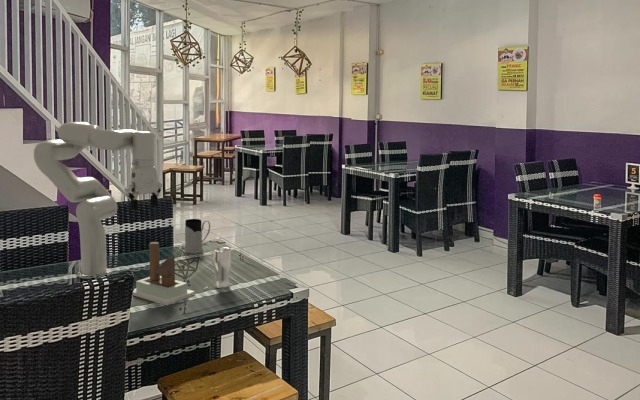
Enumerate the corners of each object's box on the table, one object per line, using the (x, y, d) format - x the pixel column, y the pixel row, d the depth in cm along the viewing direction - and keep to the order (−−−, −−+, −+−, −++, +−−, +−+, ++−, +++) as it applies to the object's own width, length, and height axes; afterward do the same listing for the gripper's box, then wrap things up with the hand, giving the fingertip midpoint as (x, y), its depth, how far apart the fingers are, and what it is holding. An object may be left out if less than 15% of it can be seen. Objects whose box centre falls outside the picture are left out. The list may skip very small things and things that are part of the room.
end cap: (128, 293, 204) (128, 281, 203) (157, 283, 215) (157, 272, 215) (166, 305, 194) (166, 292, 193) (194, 294, 205) (194, 282, 205)
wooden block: (168, 295, 200) (167, 247, 197) (147, 289, 205) (146, 243, 202) (175, 292, 203) (174, 245, 200) (155, 286, 209) (154, 241, 205)
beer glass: (222, 281, 220) (222, 245, 217) (234, 285, 216) (234, 249, 213) (209, 286, 215) (209, 249, 212) (221, 290, 210) (220, 252, 208)
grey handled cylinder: (180, 250, 263) (180, 220, 260) (204, 245, 274) (204, 216, 271) (191, 254, 257) (191, 223, 255) (215, 248, 268) (215, 219, 265)
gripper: (131, 166, 199) (133, 212, 202) (167, 162, 214) (168, 205, 217) (118, 164, 203) (119, 209, 206) (154, 161, 218) (155, 203, 221)
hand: (144, 207), depth 212 cm, fingers open, 9 cm apart
